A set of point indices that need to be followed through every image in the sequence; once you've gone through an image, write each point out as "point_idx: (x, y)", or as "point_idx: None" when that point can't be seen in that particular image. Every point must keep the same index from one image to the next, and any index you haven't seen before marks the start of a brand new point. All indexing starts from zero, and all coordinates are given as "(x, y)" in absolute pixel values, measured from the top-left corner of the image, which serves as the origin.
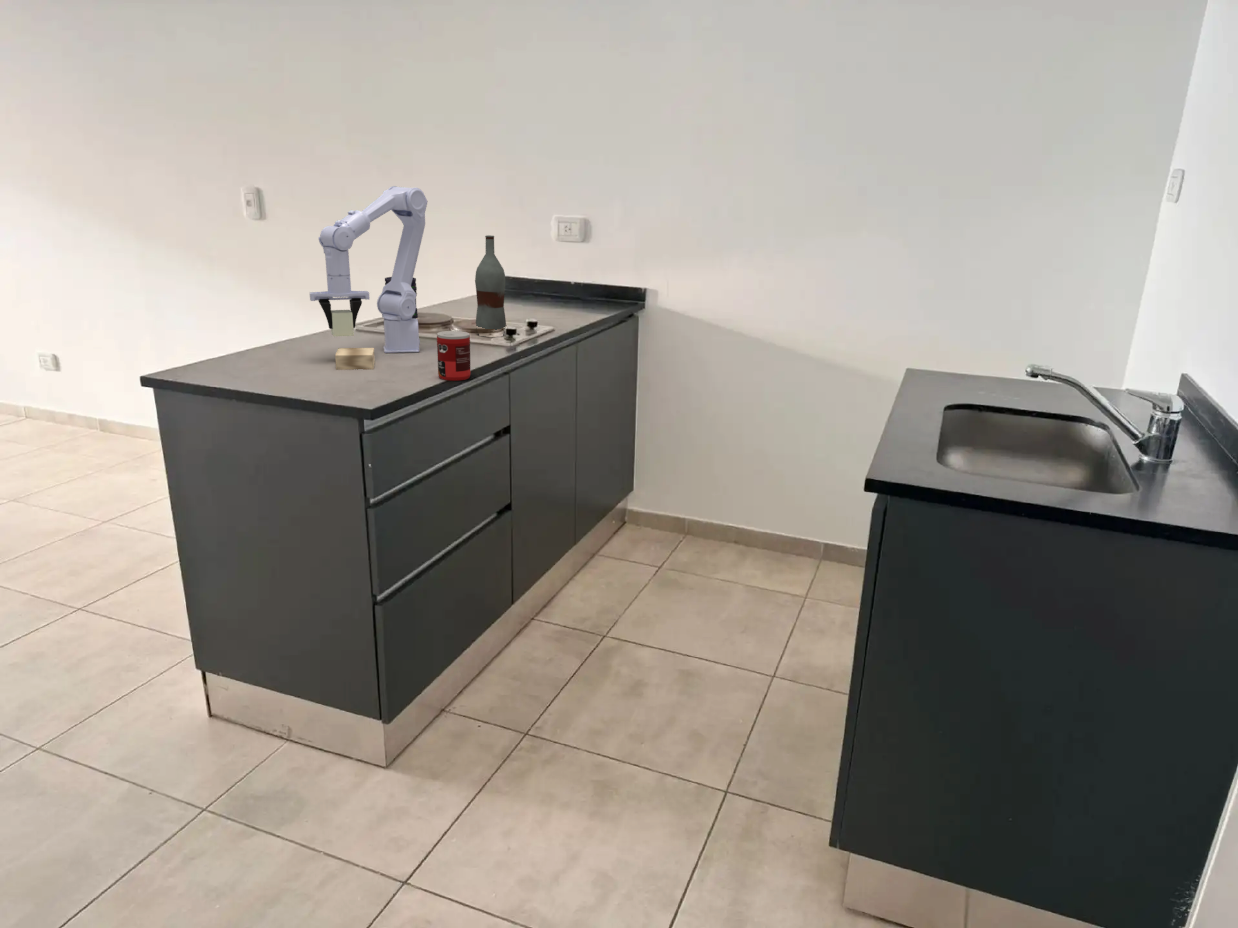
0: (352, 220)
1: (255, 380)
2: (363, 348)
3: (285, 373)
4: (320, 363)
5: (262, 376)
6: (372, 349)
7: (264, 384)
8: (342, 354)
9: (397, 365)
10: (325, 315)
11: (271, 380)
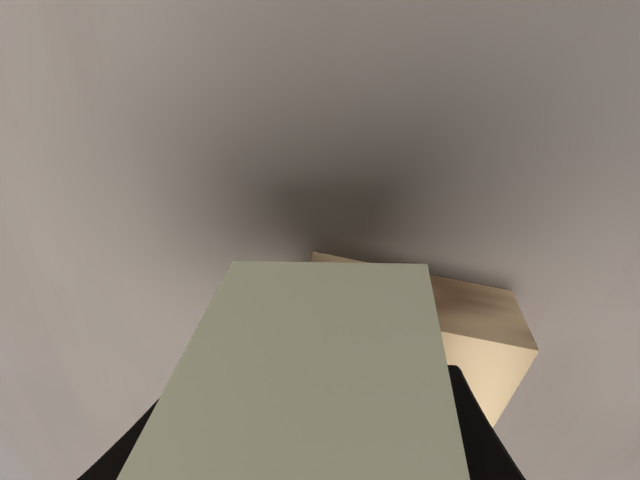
0: None
1: (20, 430)
2: (462, 350)
3: (91, 381)
4: (212, 258)
5: (22, 395)
6: (509, 385)
7: (67, 471)
8: None
9: (589, 389)
10: (98, 464)
11: (72, 443)
